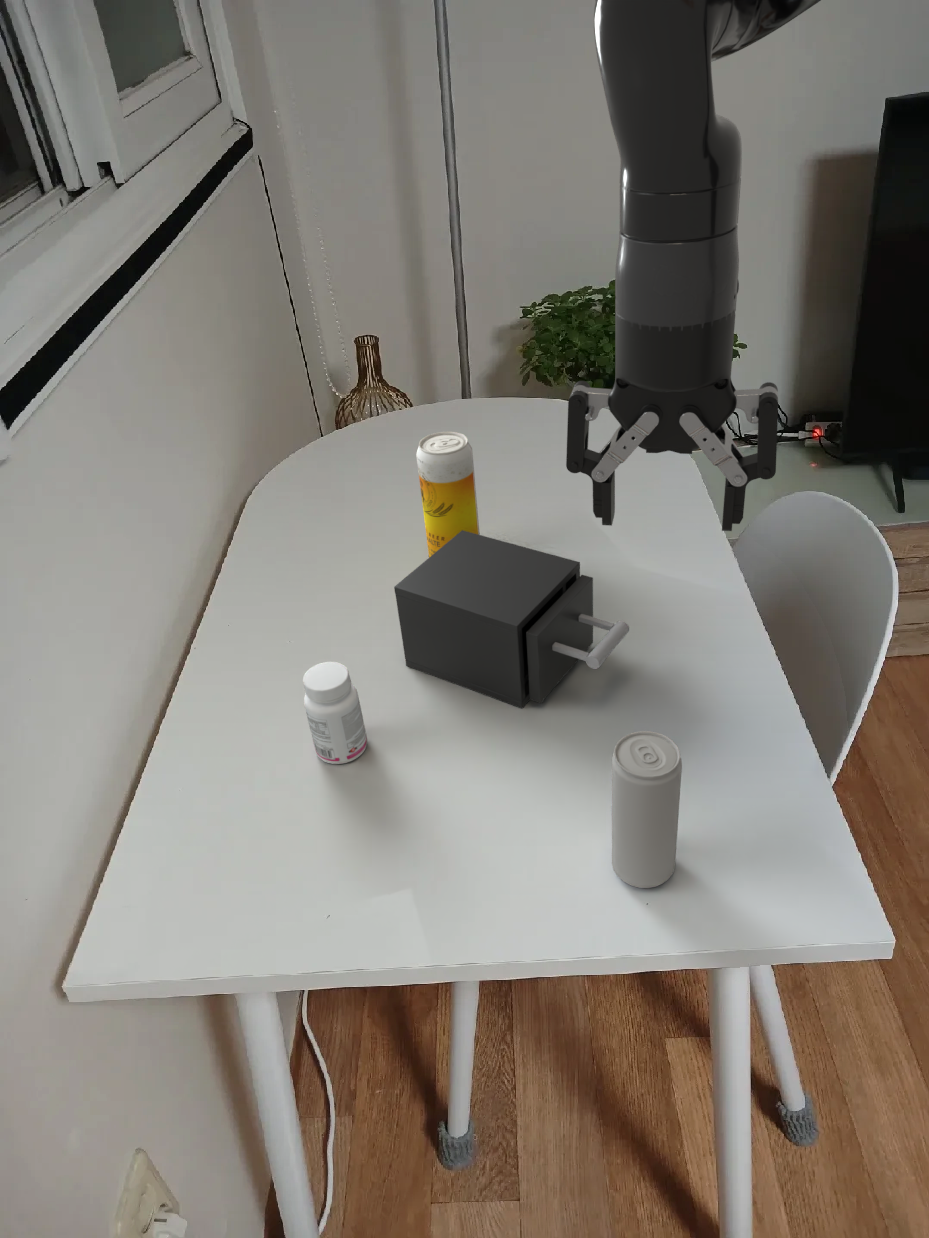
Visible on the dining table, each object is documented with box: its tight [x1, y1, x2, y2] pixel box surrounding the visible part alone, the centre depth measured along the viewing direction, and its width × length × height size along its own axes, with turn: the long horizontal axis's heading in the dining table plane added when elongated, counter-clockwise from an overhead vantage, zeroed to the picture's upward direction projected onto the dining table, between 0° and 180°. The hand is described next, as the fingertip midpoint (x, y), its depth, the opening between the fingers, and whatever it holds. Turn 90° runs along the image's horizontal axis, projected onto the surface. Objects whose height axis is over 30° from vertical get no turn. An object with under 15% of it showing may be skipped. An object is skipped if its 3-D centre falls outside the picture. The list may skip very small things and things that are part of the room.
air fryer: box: [393, 530, 581, 709], centre depth 93 cm, size 14×12×10 cm
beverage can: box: [611, 730, 683, 889], centre depth 69 cm, size 5×5×12 cm
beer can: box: [415, 431, 481, 558], centre depth 107 cm, size 6×6×15 cm
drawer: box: [522, 574, 630, 704], centre depth 91 cm, size 17×10×8 cm, turn 56°
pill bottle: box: [302, 661, 368, 765], centre depth 84 cm, size 5×5×8 cm
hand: (667, 523), depth 70 cm, fingers open, 8 cm apart
